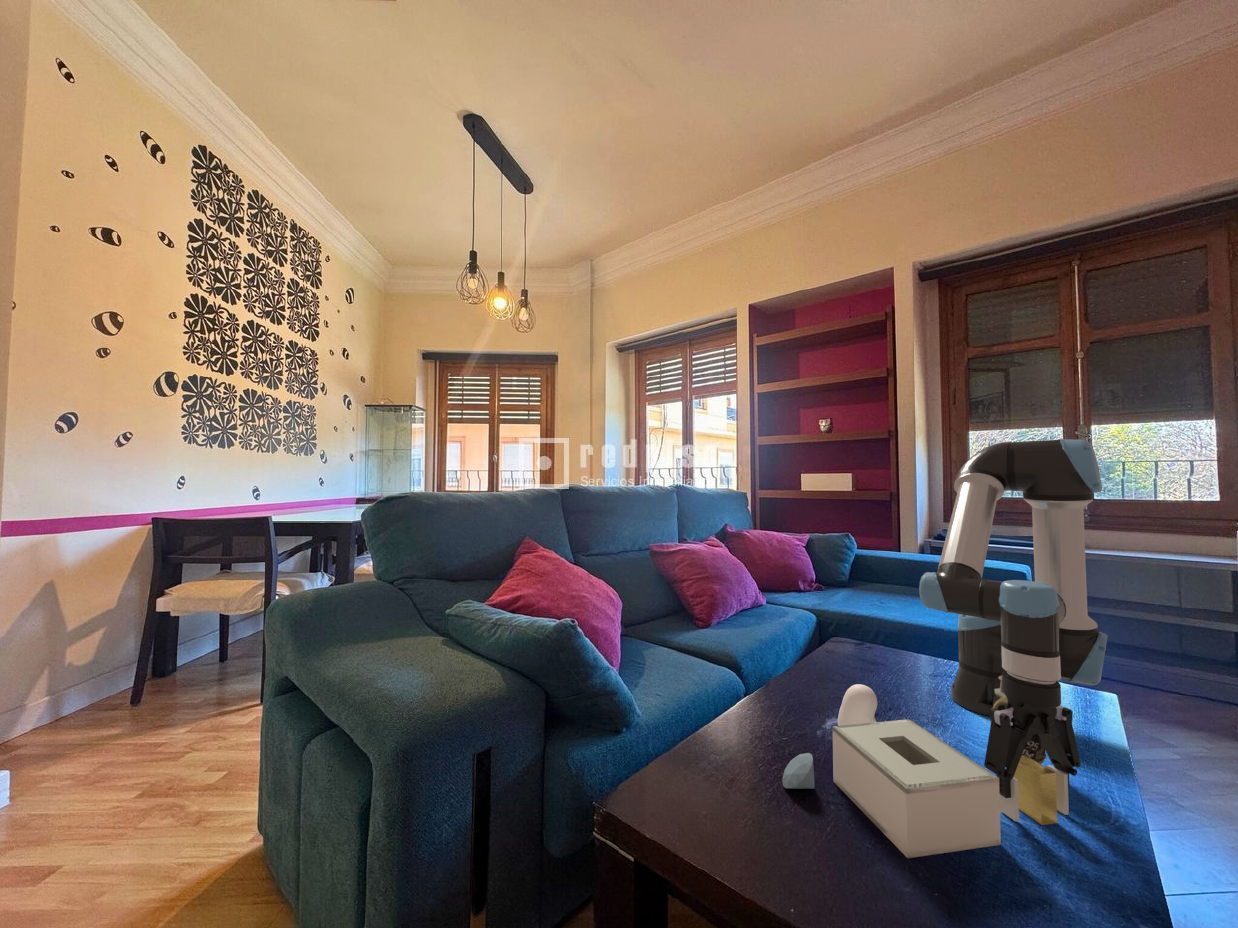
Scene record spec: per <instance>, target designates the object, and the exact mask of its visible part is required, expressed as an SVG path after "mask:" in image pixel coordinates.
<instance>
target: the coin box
mask: <svg viewBox="0 0 1238 928" xmlns="http://www.w3.org/2000/svg"><path fill="white" fill-rule="evenodd" d="M832 765H833V766H832V772H833V773H832V774H833V775H832V777H833V778H832V781H833V783H834V784H835V786H837V787H838V788H839V789H840V790H841V791H842V793H844V794H845V795H846V796H847V798H849V799H850V801H852V803H853V804H855V806H857V807H858V809H859V810H860V811H861V812H862V813H863V814H864V815H865V816H866V817H867V818H868V819H869V820H870V821H871V822H872V823H873V824H874V826H876V827H877V828H878V829H879V830H880V831H881V832H882V834H883V835H884V836H885V837H886V838H887V839H888V840H890V842H892V844H894V846H895V847H896V848H897V849H898V850H899V851H900V852H901V853H902V854H903V856H905V857H906V859H912V858H913V859H914V858H918V857H926V856H933V855H939V854H944V853H945V854H947V853H954V852H960V851H966V850H974V849H980V848H988V847H995V846H1000V845H1001V844H1002V843H1001V836H1002V835H1001V811H1000V793H999V778H998V777H997V776H996V774H995V773H994V774H993V772H992V771H990V770H988V769H987V768H985V767H983V766H981V765H980V764H979V763H977V762H976V761H973V760H972V759H971V758H969V757H968V756H966V755H965V754H963V753H961V752H960V751H958V750H957V749H956V748H954V747H952V746H951V745H949V744H948V743H947V742H945V741H943V740H942V739H940V738H939V737H937V736H936V735H935V734H932V733H931V732H929V731H928V730H927V729H925V728H923V727H922V726H920V725H918V724H917V723H915V722H914V721H913V720H911V719H910V718H909V719H906V718H905V719H897V720H888V721H887V720H886V721H876V722H873V723H862V724H852V725H841V726H838V725H833V726H832Z"/></svg>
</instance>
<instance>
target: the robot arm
mask: <svg viewBox="0 0 1238 928" xmlns="http://www.w3.org/2000/svg"><path fill="white" fill-rule="evenodd" d="M953 488H954V491H955V492H956V497H955V500H954V505H953V509H952V512H951V517H950V520H949V524H948V528H947V532H946V536H945V540H944V544H943V547H942V552H941V555H940V560H939V563H938V567H937V571H936V572H935V571H933V572H932V571H931V572H929V571H927V572H924V573H923V575H922V576H921V577H920V580H919V587H918V588H919V591H918V592H919V599H920V601H921V603H922V605H923V606H924V607H926V608H927V609H931V610H934V611H935V610H936V611H940V612H943V613H947V614H949V613H950V614H957V615H958V616H957V617H958V622H957V628H956V629H957V639H958V640H957V641H958V645H957V646H958V669H957V672H956V674H955V676H954V677H955V678H954V681H953V683H952V685H951V687H950V688H951V689H950V695H951V699H952V700H953V702H955V703H956V704H958V705H959V706H961V707H963V708H965V709H967V710H969V711H972V712H974V713H977V714H980V715H984V716H987V717H990V728H989V733H988V740H987V744H986V751H985V755H984V756H985V757H984V763H983V765H984V768H985V769H986V770H988V771H989V772H991V773H992V774H993V773H994V775H995V776H997V777H998V778H999V793H1000V813H1002V814H1004V815H1005V816H1007V817H1008V818H1009V819H1012V820H1013V821H1014V822H1020V810H1019V792H1018V780H1017V779H1016V778H1014V774H1015V772H1016V769H1017V766H1018V764H1019V761H1020V758H1021V756H1022V753H1023V750H1024V748H1025V745H1026V742H1030V741H1031V739H1032V736H1033V735H1035V734H1037V733H1038V735H1039V737H1040V739H1041V742H1042V744H1043V746H1044V748H1045V753H1046V756H1048V758H1049V762H1050V763H1051V764H1047V765H1046V767H1047V768H1048V769H1050V770H1052V771H1054V772H1055V773H1056V796H1057V812H1060V813H1061V814H1063V815H1065V816H1066V815H1067V816H1068V815H1069V814H1070V813H1069V811H1070V809H1069V808H1070V807H1069V805H1070V804H1069V791H1070V775H1071V776H1073V777H1074V776H1076V775H1078V770H1077V769H1080V768H1081V765H1082V763H1081V758H1080V754H1079V753H1080V752H1079V749H1078V745H1077V739H1076V736H1075V731H1074V726H1073V716H1074V713H1073V710H1072V709H1071V708H1069V707H1065V706H1063V705H1062V688H1061V687H1062V685H1061V683H1060V682H1059V681H1060V680H1062V681H1066V682H1069V683H1077V684H1081V685H1085V686H1086V685H1087V686H1097V685H1098V684H1099V683H1100V682H1101V679H1102V674H1103V667H1104V660H1105V654H1106V650H1107V649H1106V648H1107V643H1108V635H1107V633H1103V632H1102V631H1099V628H1098V622H1096V621H1095V619H1092V617H1090V616H1089V615H1088V614H1089V612H1088V591H1087V569H1086V566H1087V565H1086V564H1087V563H1086V541H1085V540H1086V537H1085V515H1084V510H1085V507H1087V506H1088V505H1089V504H1091V503H1093V501H1094V494H1093V493H1095V494H1097V493H1100V492H1102V491H1103V485H1102V479H1101V473H1100V469H1099V464H1098V460H1097V456H1096V453H1095V449H1094V446H1093V445H1092V443H1090V442H1089V441H1088V440H1085V439H1071V438H1070V439H1063V438H1061V439H1050V440H1049V439H1046V440H1030V441H1029V440H1027V441H1004V442H997V443H995V444H991V445H988V446H987V447H985V448H983V449H981V450H979V451H977V452H976V453H975V454H973V455H972V456H971V457H969V459H968V460H967V461H965V462H964V464H963V465H962V466H961V468H959V470H958V471H957V474H956V476H955V480H954V484H953ZM1008 491H1012V492H1022V499H1023V501H1024V502H1026V503H1028V504H1029V506H1030V507H1031V510H1032V511H1031V512H1032V513H1031V515H1032V516H1031V517H1032V518H1031V519H1032V539H1033V562H1034V563H1033V564H1034V565H1033V567H1034V581H1033V580H1026V579H1025V580H1024V579H1023V580H1022V579H1008V580H1003V581H1000V580H991V579H985V578H983V574H984V569H985V563H986V559H987V554H988V553H987V552H988V548H989V542H990V537H991V532H992V527H993V522H994V516H995V512H996V506H997V502H998V501H999V500H1000V499H1001V498H1002V497H1003V496H1004V494H1005V492H1008ZM1001 649H1002V658H1001ZM999 676H1002V691H1003V693H1004V694H1005V695H1006V697H1007V699H1008V701H1007V705H1006V708H1005V710H1000V711H998V710H996V709H994V708H993V700H994V697H995V696H996V694H995V689H1000V684H1001V680H1000V679H999V678H998V677H999ZM1015 727H1016V728H1017V729H1019V730H1020V731H1022V732H1023V733H1020V732H1018V731H1017V730H1015ZM1075 768H1076V769H1075Z"/></svg>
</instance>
